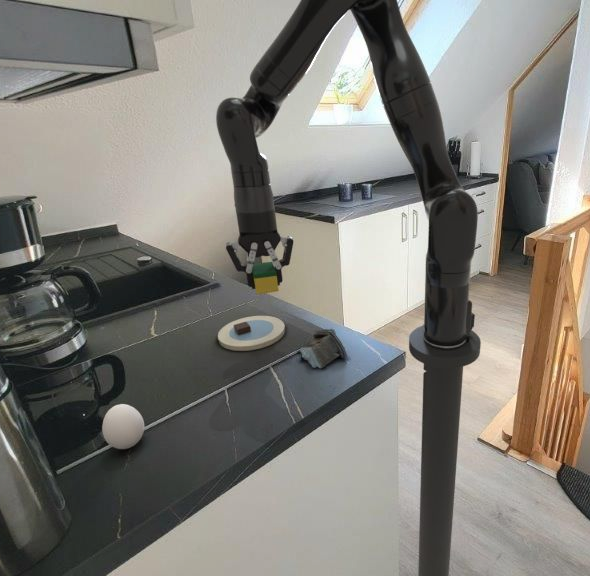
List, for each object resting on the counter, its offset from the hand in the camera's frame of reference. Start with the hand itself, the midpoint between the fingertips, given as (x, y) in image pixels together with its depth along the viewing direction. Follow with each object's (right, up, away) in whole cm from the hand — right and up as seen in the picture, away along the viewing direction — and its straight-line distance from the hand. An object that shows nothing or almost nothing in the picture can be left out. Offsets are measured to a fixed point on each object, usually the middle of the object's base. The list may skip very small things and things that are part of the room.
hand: (266, 285), depth 88 cm
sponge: (0, 0, 0) cm, 0 cm away
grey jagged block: (+12, -15, -2) cm, 19 cm away
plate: (-5, -11, +7) cm, 15 cm away
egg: (-14, -25, -25) cm, 38 cm away
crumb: (-7, -11, +6) cm, 14 cm away
